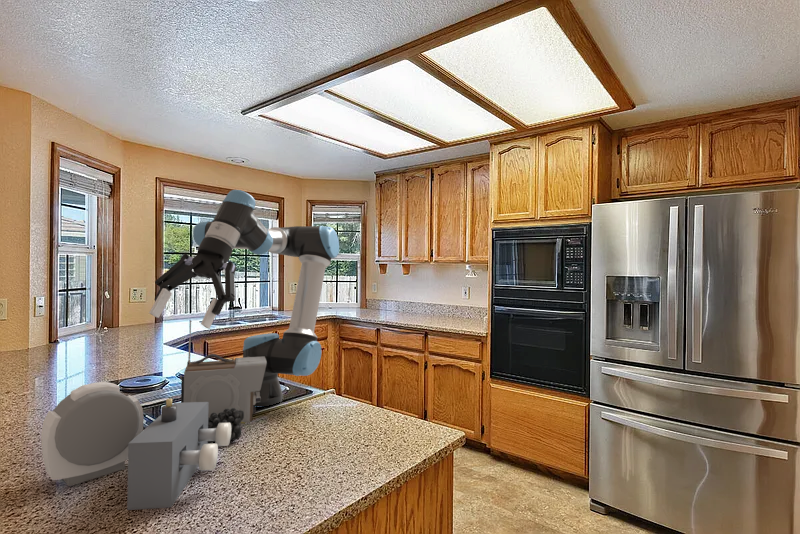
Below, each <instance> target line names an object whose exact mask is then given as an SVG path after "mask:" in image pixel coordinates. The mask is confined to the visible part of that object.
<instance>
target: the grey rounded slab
mask: <svg viewBox="0 0 800 534" xmlns="http://www.w3.org/2000/svg"><path fill="white" fill-rule="evenodd" d="M142 406H143V405H142V404H141V403H140V400H139V399H137V398H135V397H134V396H132V395H130V394H128V395H125V394H124V393H122V392H120V386H119V385H117V384H116V383H113V382H109V381H99V382H91V383H87V384H82V385H81V386H79V387H77V388H74V389H73V390H71V392H70V393H69V394H68V395H67V396H65V397H64V398H63V399H62V400H61V401H59V403H58V404H57V405H56V406H55V407H54V408H53V410H48V412H47V414H46V415H45V417H44V420H43V422H42V427H41V433H40V439H41V441H40V444H41V446H40V447H41V454H42V459H43V460H42V461H43V465H44V469H45V472H46V474H47V475H48V476H49V477H50V479H51V481H58V480H63V481H64V483H65V484H66V485H67V486H68V487H71V486H74V485H77V484H82V483H85V482H87V481H91V480H94V479H96V478H100V477H103V476H106V475H109V474H113V473H117V472H119V471H122V470H125V469H126V461H128V443H129V442H130V441H132V440H133V439H134V438H135V437H136V436H137V435H138V434H140V433H141V432H142V431H143V430H144V423H145V422H144V419H145V417H144V409H143V407H142Z"/></svg>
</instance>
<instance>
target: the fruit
mask: <svg viewBox="0 0 800 534" xmlns="http://www.w3.org/2000/svg"><path fill="white" fill-rule="evenodd" d="M243 418H244V412H243V411H242V410H239V411H238V410H236V409H235V408H231V409H225V410H224V411H223V412H220V413H219V414H218V415H217V414H216V413H212V414H211V415H210V418H209V417H208V429H211V428H217V426H218V424H219V423H231V439H230V441H234V440H239V439H240V438H241V435H242V427H241V425H242V424H241V423H243V424H244V425H245V424H246V423H245V422H241V421H242V420H243ZM212 443H213V441H208V444H212Z"/></svg>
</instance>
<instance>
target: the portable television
mask: <svg viewBox="0 0 800 534" xmlns="http://www.w3.org/2000/svg"><path fill="white" fill-rule="evenodd" d="M191 334H192V320H191V319H190V320H189V340H188V357H187V358H188V360H187V363H186V364H187V365H186V367H185V369H184V372H183V375H180V376H179V378H180V379H179V380H181V384H180V385H181V387H180V388H181V389H180V391H181V392H180V403H186V402H209V405H208V417H209V418H210V415H211V414H212V413H216V414H217V415H218V414H219V413H220V412H223V411H224V410H225V409H231V408H235V409H236V410H238V411H239V410H242V411H243V412H244V418H243V420H242V421H241V422H245V424H248V423H251V422H253V414H254V415H255V414H257V408H256V407H255V404H256V402H260V399H261V397H260V392H257V391H260V390H261V385H262V381H263V377H264V373H265V368H266V364H267V361H266V358H265V356H262V357H244V358H243V357H235V358H234V357H232V359H231V358H230V359H228V358H225V357H224V358H223V357H222V356H220V355H218V354H215V353H211V354H208V355H206V356H204V357H203V358H201V359H199V360H195V361H191V342H192V341H191V336H192V335H191ZM210 358H215V359H218V360H213V361H210V360H209V361H205V360H207V359H210ZM255 392H256V394H255ZM242 424H243V423H241V425H242Z"/></svg>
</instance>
